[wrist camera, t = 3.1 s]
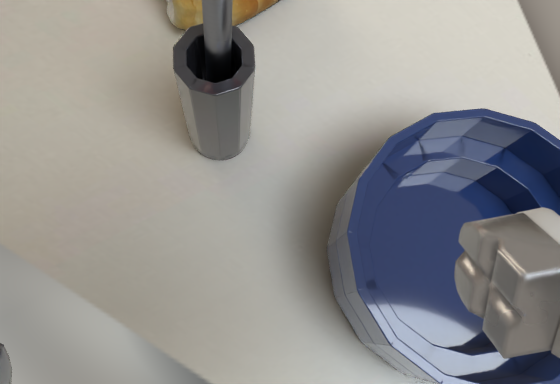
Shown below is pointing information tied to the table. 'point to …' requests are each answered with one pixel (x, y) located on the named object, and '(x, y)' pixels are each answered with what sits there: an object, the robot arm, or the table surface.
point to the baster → (217, 38)
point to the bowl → (438, 241)
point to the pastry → (188, 13)
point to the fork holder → (215, 94)
